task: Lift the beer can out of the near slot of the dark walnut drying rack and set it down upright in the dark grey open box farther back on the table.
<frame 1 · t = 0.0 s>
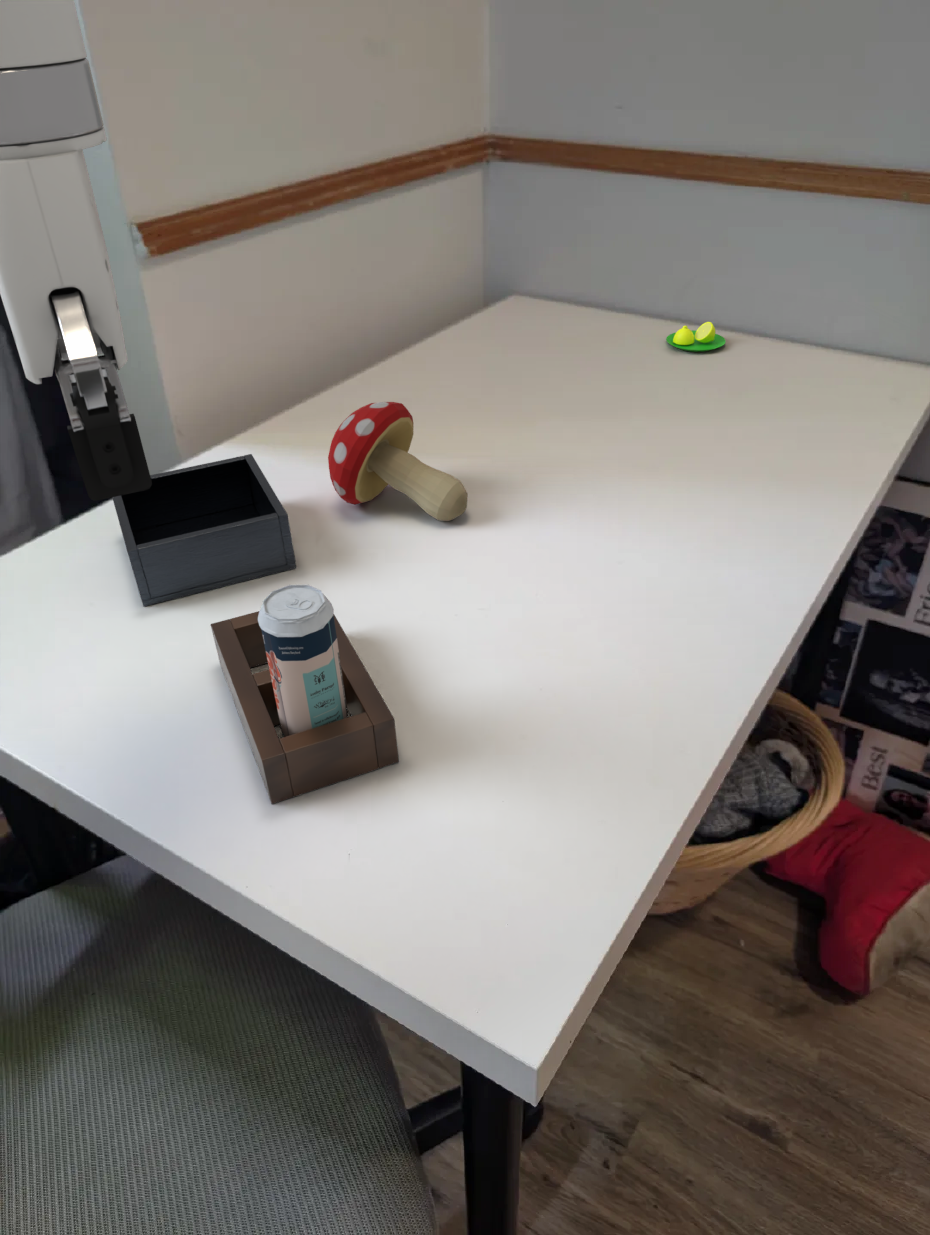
hand: (110, 456, 52), 22 cm above the table, tool pointing down, fingers open, 9 cm apart
beer can: (318, 743, 65), resting in rack
decorative mushroom: (405, 505, 93), on the table
rack: (303, 710, 68), on the table
lemon: (695, 346, 127), on the table
dark grey open box: (207, 551, 86), on the table
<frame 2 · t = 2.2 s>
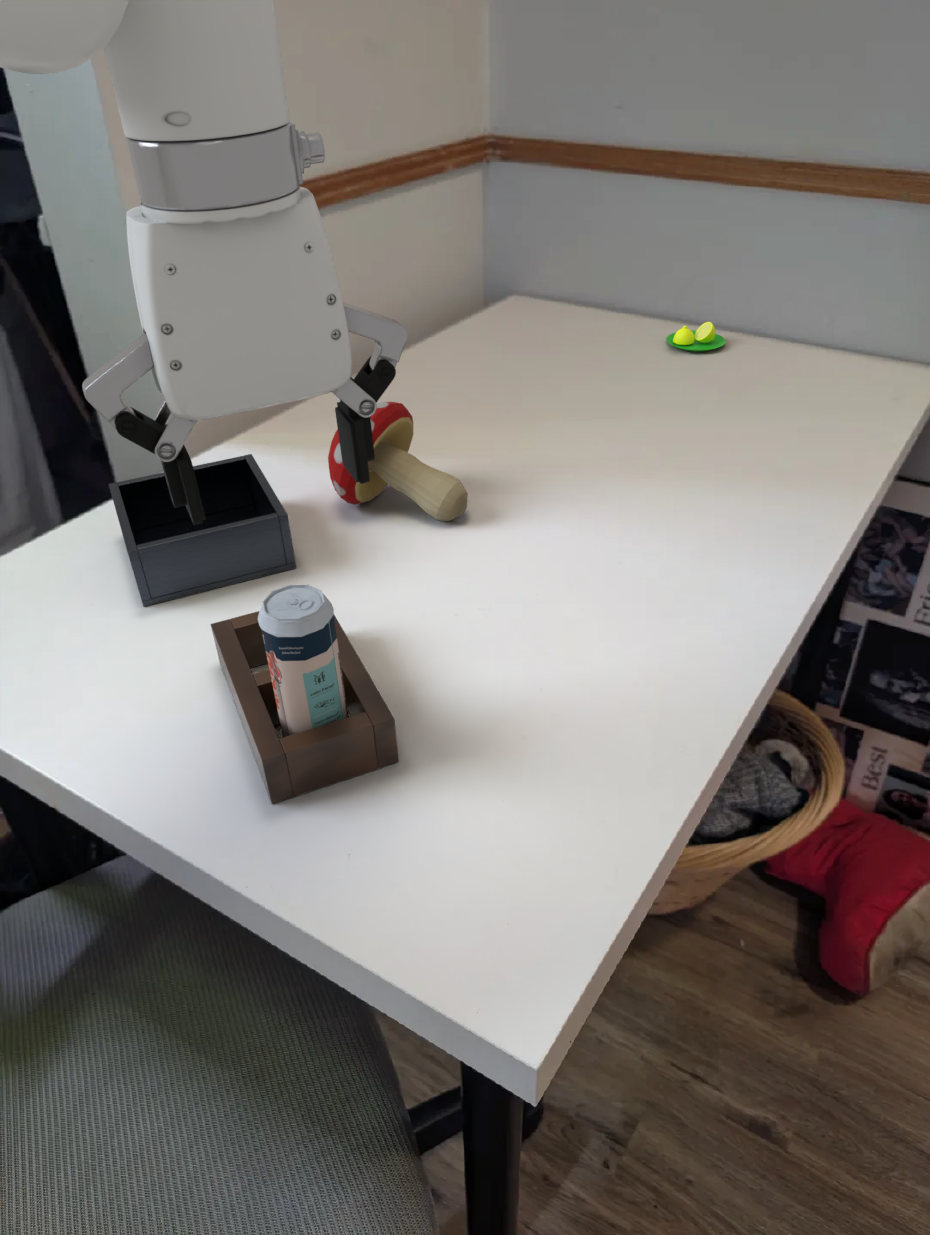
hand: (278, 493, 54), 20 cm above the table, tool pointing down, fingers open, 9 cm apart
nothing on the table moved.
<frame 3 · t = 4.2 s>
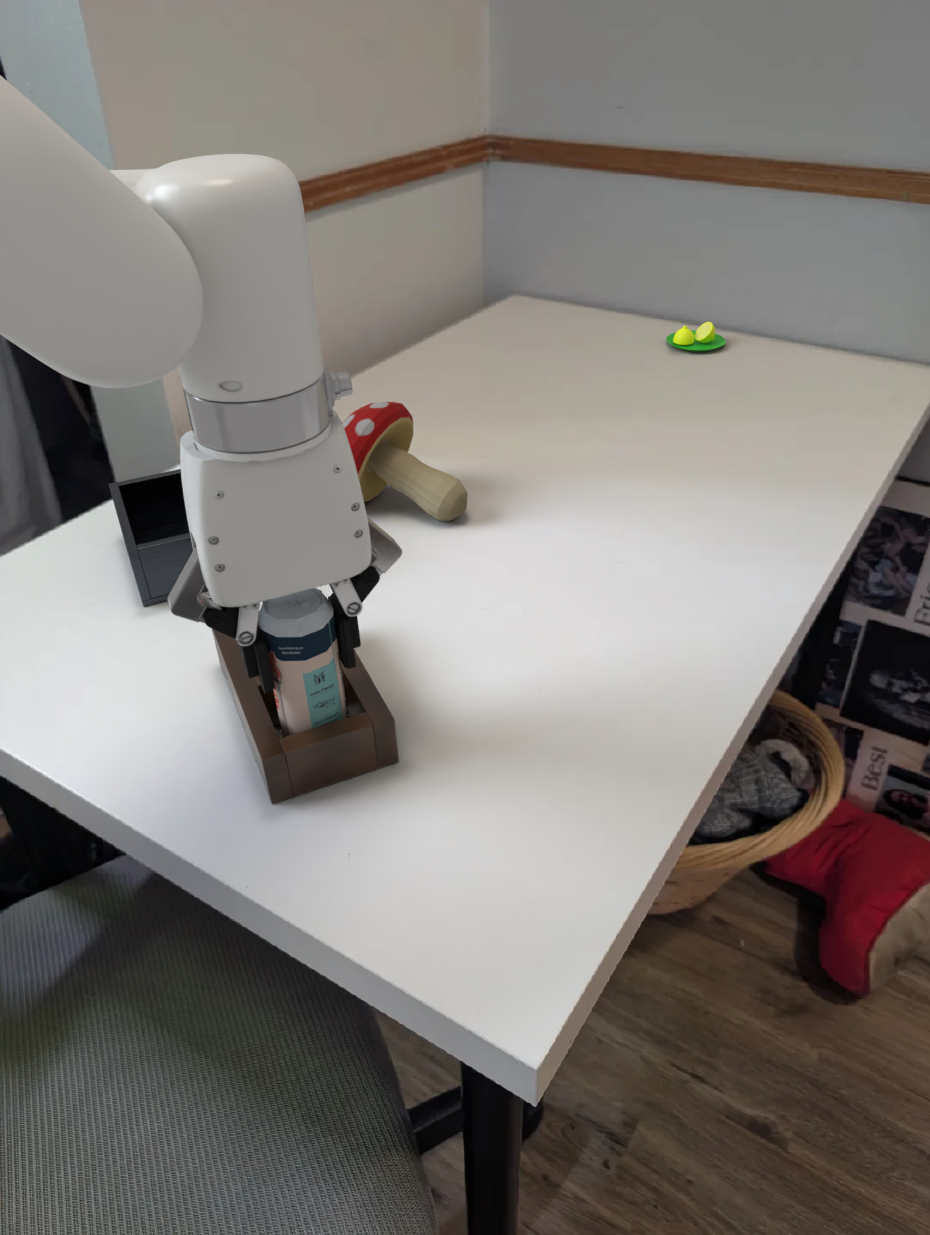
hand: (304, 666, 61), 7 cm above the table, tool pointing down, fingers closed on beer can, 4 cm apart
beer can: (318, 743, 65), resting in rack, touching gripper
everything else where it was.
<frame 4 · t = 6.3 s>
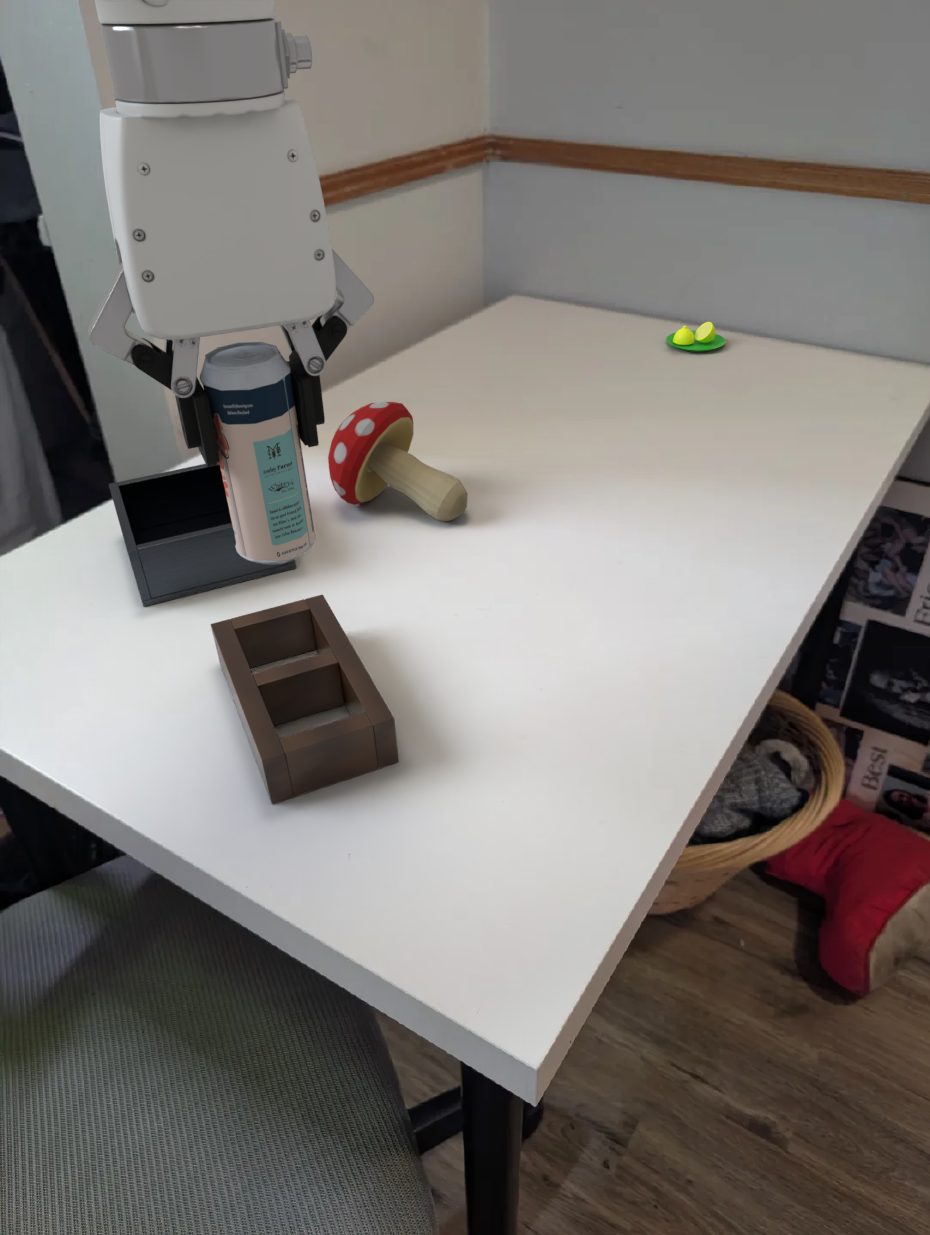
hand: (257, 444, 52), 23 cm above the table, tool pointing down, fingers closed on beer can, 4 cm apart
beer can: (277, 551, 56), point 16 cm above the table, touching gripper
everything else where it was.
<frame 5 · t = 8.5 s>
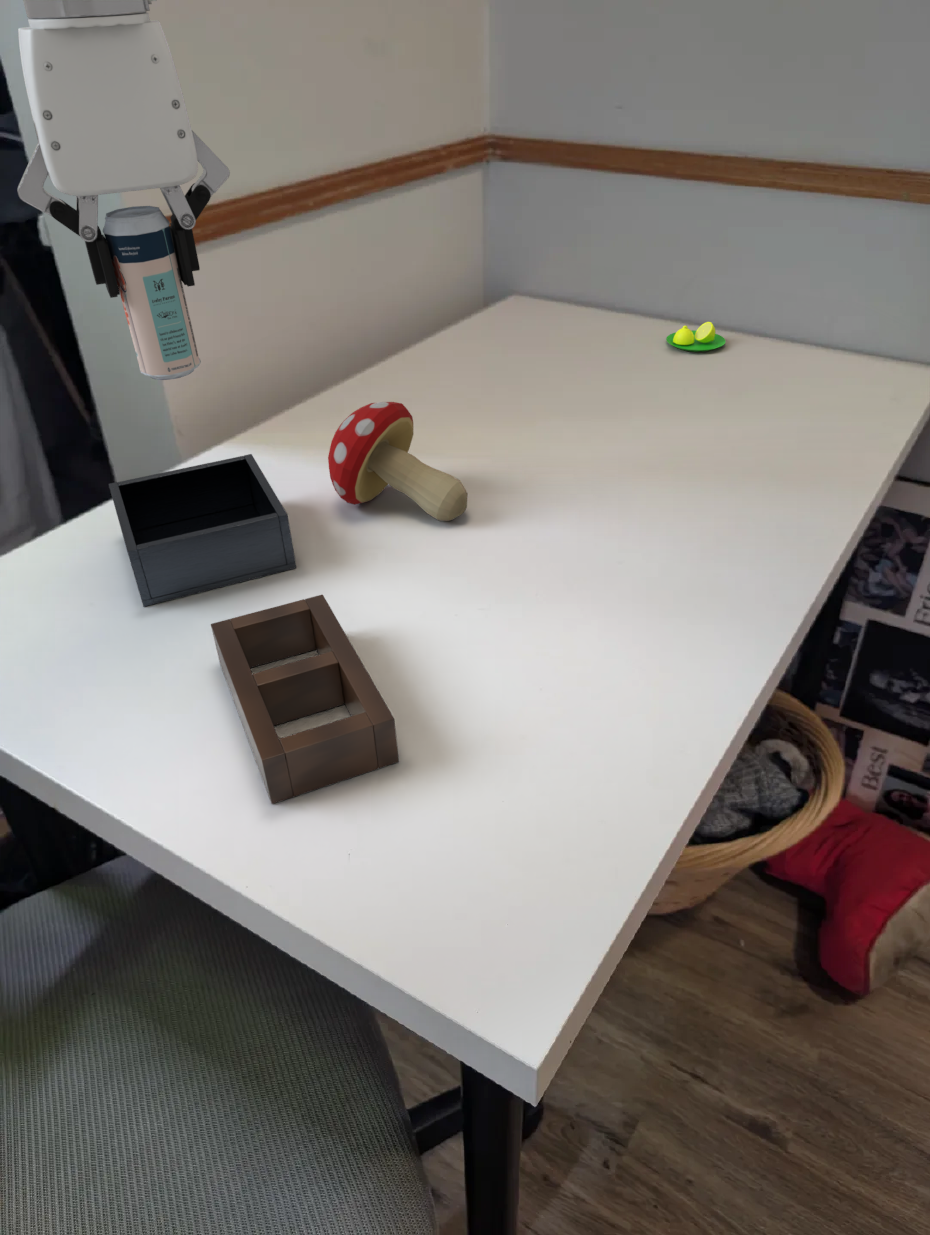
hand: (150, 284, 70), 25 cm above the table, tool pointing down, fingers closed on beer can, 4 cm apart
beer can: (172, 374, 74), point 18 cm above the table, touching gripper
everything else where it was.
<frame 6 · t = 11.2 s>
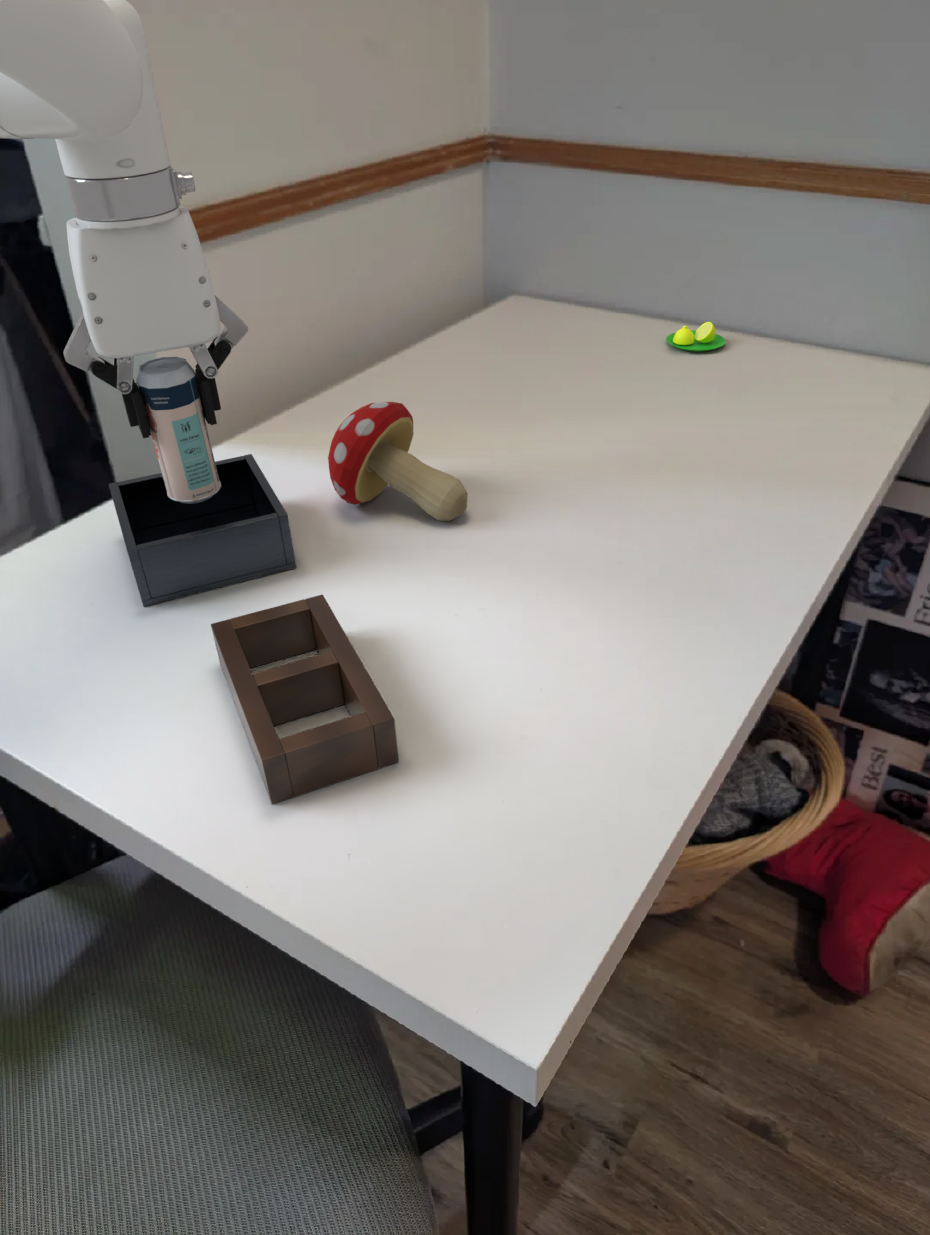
hand: (177, 423, 79), 13 cm above the table, tool pointing down, fingers closed on beer can, 4 cm apart
beer can: (196, 495, 83), point 6 cm above the table, touching gripper
everything else where it was.
when the fingers open (7 cm above the table, at t = 12.9 s): beer can stays where it is, resting on dark grey open box.
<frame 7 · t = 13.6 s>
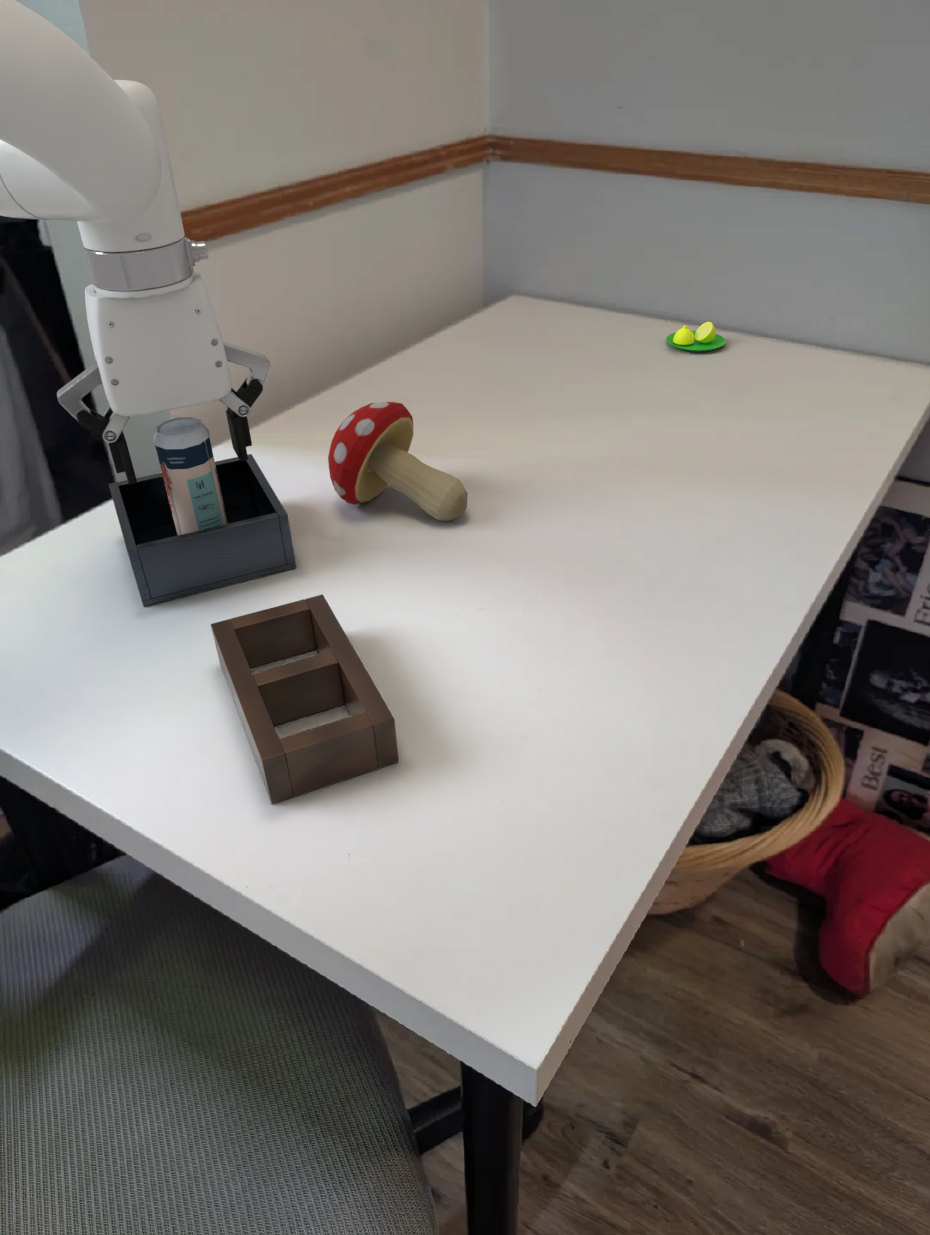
hand: (186, 466, 81), 9 cm above the table, tool pointing down, fingers open, 9 cm apart
beer can: (207, 547, 86), resting on dark grey open box
everything else where it was.
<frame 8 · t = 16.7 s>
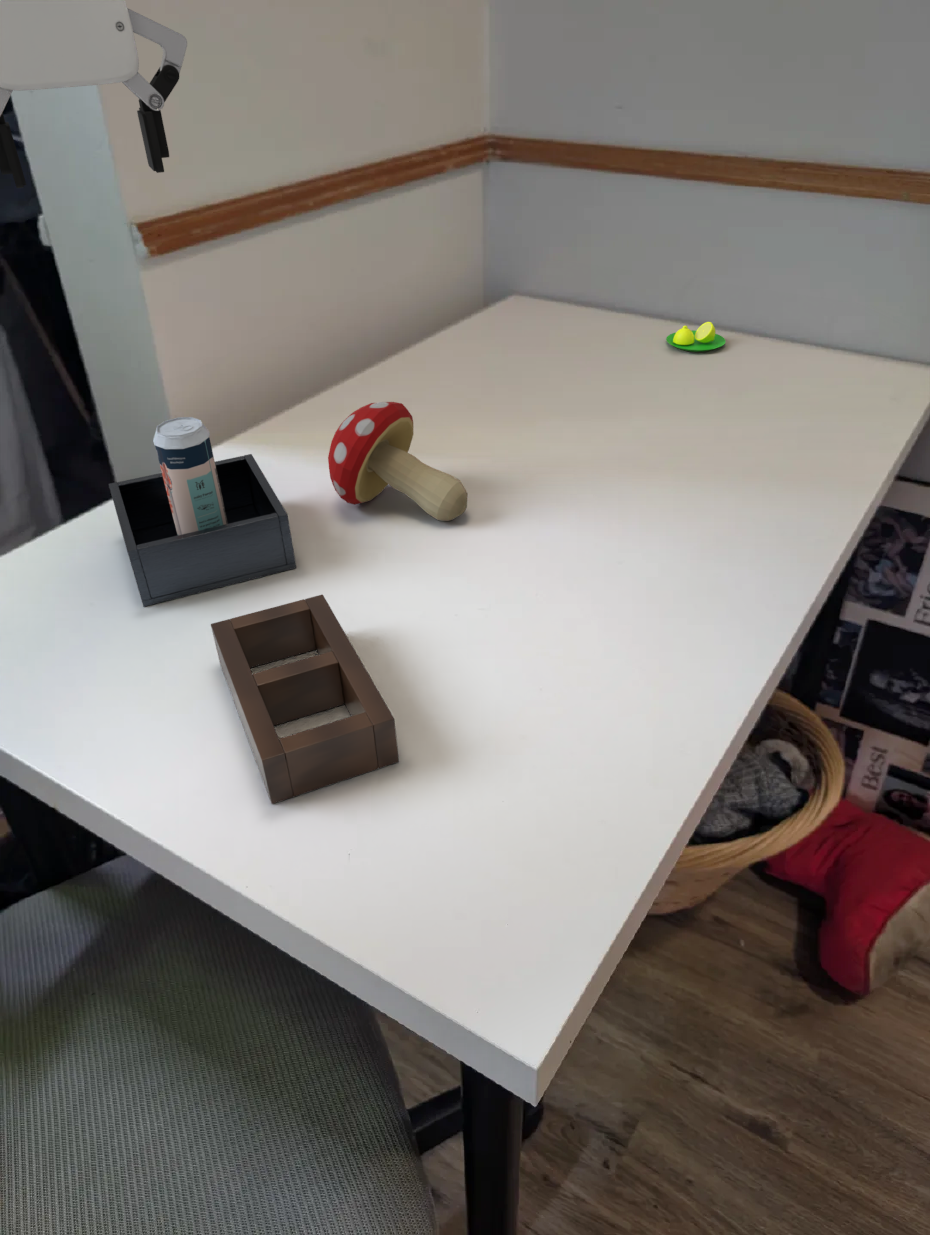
hand: (90, 177, 68), 32 cm above the table, tool pointing down, fingers open, 9 cm apart
nothing on the table moved.
at the end: beer can inside the target area in the dark grey open box (0.1 cm from its centre), point 0.4 cm above the dark grey open box's base; beer can tilted 0°; the gripper is holding nothing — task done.
